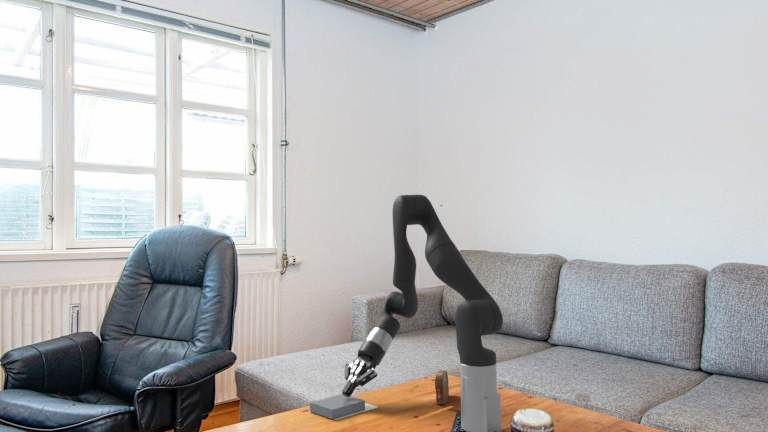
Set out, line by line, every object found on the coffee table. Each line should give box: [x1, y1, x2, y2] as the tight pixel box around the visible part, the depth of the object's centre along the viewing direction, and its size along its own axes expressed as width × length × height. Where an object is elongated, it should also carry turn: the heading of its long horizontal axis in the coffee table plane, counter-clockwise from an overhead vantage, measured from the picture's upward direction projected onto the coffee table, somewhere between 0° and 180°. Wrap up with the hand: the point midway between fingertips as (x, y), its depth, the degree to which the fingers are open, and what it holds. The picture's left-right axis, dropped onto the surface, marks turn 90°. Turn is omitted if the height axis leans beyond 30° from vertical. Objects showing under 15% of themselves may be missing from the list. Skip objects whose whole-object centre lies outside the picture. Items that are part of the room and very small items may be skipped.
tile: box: [309, 393, 366, 420], centre depth 158 cm, size 10×3×12 cm
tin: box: [434, 369, 450, 405], centre depth 169 cm, size 15×3×8 cm, turn 168°
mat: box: [332, 402, 379, 421], centre depth 160 cm, size 12×16×1 cm
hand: (345, 395), depth 160 cm, fingers closed
